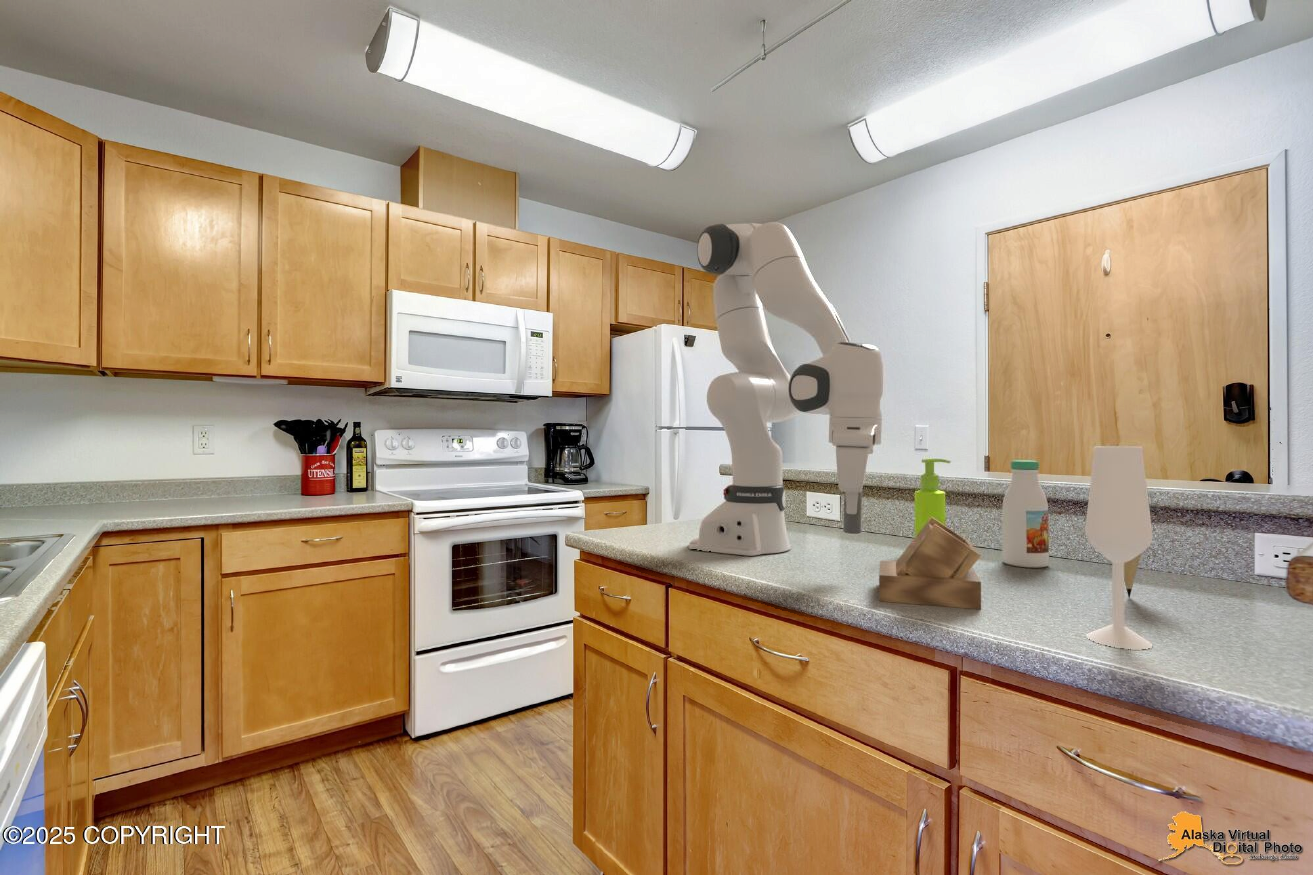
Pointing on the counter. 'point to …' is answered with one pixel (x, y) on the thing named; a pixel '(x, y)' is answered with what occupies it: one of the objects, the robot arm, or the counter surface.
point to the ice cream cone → (1130, 572)
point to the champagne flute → (1118, 529)
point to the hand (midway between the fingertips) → (852, 511)
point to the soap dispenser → (929, 497)
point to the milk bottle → (1025, 518)
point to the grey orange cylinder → (853, 517)
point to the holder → (933, 571)
